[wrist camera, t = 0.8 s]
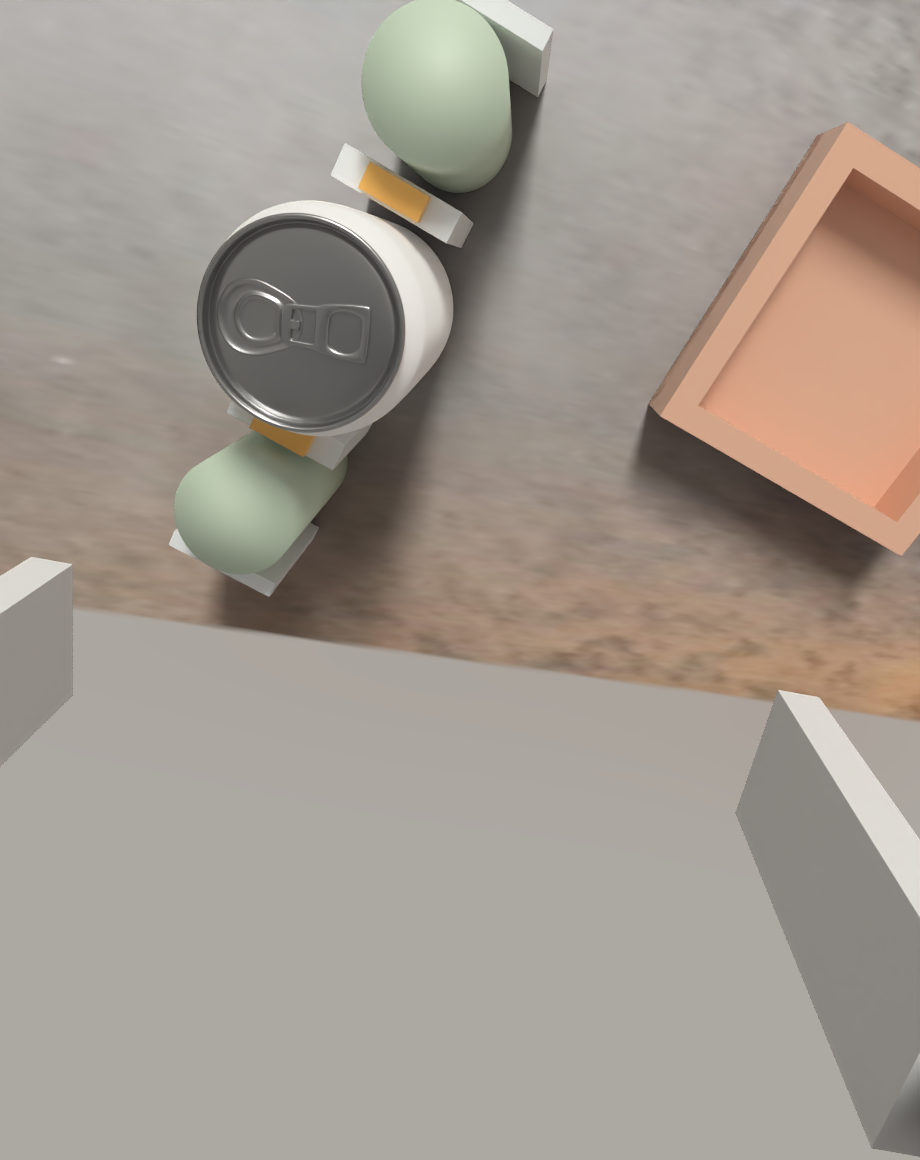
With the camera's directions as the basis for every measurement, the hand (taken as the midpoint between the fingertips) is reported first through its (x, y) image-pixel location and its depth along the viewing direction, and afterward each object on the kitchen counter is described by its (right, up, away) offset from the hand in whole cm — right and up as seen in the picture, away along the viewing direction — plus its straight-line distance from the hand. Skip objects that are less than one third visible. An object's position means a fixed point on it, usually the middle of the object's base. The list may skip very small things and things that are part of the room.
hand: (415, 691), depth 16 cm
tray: (+16, +11, +17) cm, 26 cm away
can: (-3, +13, +18) cm, 22 cm away
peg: (-6, +7, +20) cm, 22 cm away
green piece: (+1, +19, +16) cm, 24 cm away
